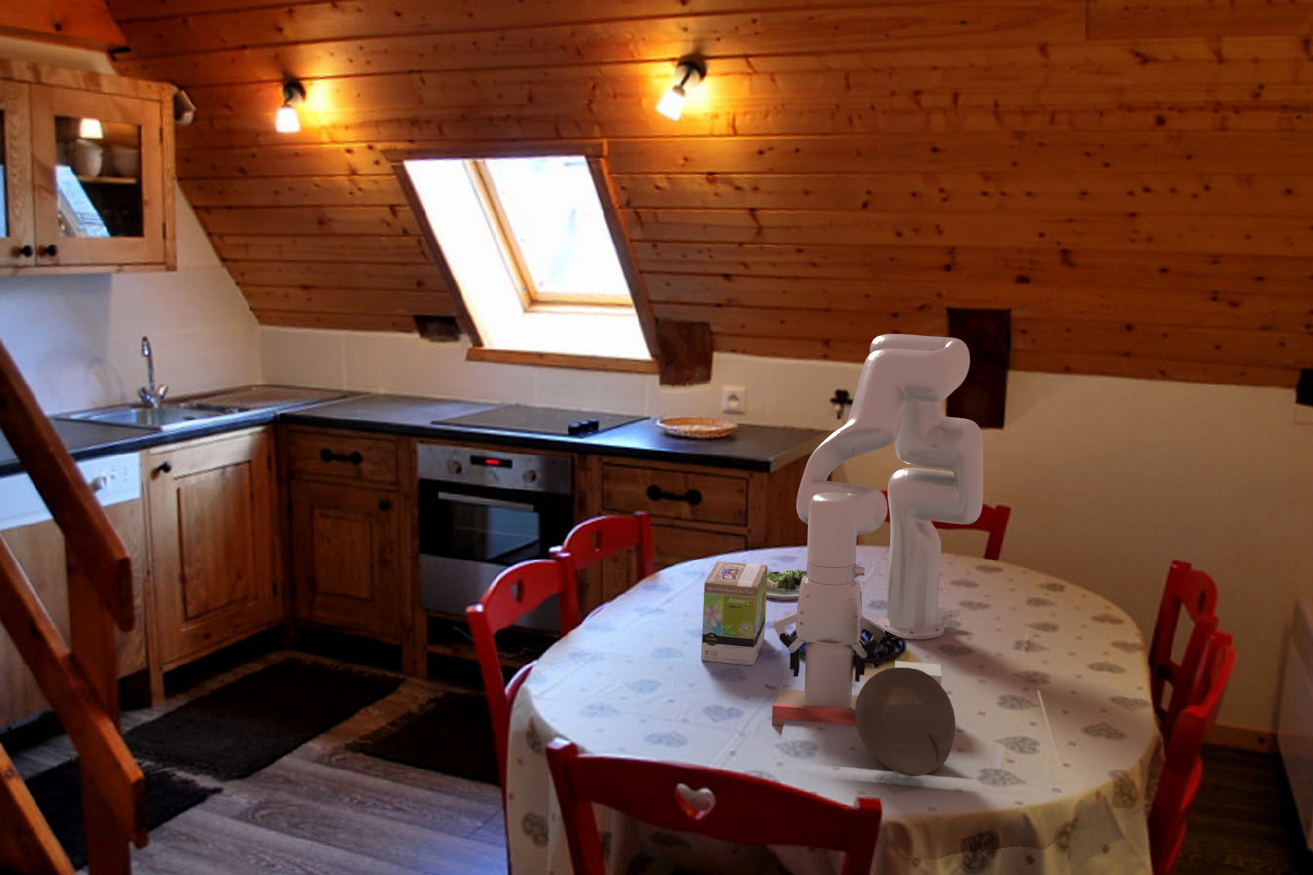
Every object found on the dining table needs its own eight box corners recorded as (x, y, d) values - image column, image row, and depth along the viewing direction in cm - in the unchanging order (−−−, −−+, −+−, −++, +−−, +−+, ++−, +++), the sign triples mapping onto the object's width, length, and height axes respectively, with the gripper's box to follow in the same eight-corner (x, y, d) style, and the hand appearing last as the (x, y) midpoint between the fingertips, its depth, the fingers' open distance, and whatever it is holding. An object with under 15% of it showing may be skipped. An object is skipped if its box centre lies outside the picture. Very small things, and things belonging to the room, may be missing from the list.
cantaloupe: (952, 755, 181) (957, 659, 178) (952, 799, 167) (958, 695, 165) (855, 744, 184) (860, 650, 181) (848, 787, 170) (853, 685, 168)
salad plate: (749, 606, 249) (749, 584, 248) (730, 580, 266) (730, 560, 266) (840, 602, 252) (841, 581, 251) (815, 577, 269) (816, 557, 269)
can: (845, 698, 198) (848, 627, 196) (855, 717, 191) (859, 644, 189) (799, 698, 198) (802, 628, 196) (808, 717, 191) (811, 644, 188)
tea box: (756, 666, 215) (758, 586, 213) (699, 662, 217) (701, 582, 215) (765, 638, 230) (768, 562, 227) (713, 634, 232) (714, 558, 229)
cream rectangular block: (937, 712, 193) (940, 664, 192) (938, 725, 188) (941, 676, 187) (892, 708, 195) (895, 660, 193) (892, 721, 190) (895, 672, 188)
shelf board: (939, 709, 198) (940, 690, 197) (942, 739, 186) (943, 720, 185) (778, 695, 202) (779, 677, 202) (771, 724, 191) (772, 705, 190)
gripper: (887, 569, 192) (882, 672, 196) (777, 562, 196) (774, 663, 199) (887, 583, 185) (882, 689, 188) (773, 575, 188) (769, 680, 191)
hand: (826, 676), depth 194 cm, fingers open, 9 cm apart
